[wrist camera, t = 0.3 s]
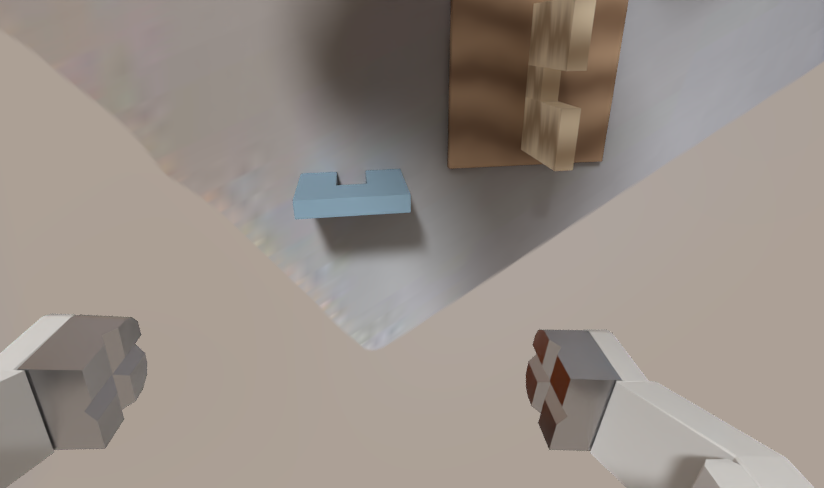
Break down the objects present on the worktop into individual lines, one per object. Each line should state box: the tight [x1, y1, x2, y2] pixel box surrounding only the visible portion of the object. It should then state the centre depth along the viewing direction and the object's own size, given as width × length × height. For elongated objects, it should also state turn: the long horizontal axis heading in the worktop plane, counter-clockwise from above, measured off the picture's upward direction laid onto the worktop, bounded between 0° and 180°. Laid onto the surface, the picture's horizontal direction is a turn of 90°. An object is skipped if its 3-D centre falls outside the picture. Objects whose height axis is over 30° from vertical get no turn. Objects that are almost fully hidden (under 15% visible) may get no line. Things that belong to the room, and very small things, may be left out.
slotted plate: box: [293, 169, 411, 219], centre depth 52 cm, size 12×2×10 cm, turn 91°
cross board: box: [448, 0, 628, 171], centre depth 49 cm, size 20×20×11 cm
